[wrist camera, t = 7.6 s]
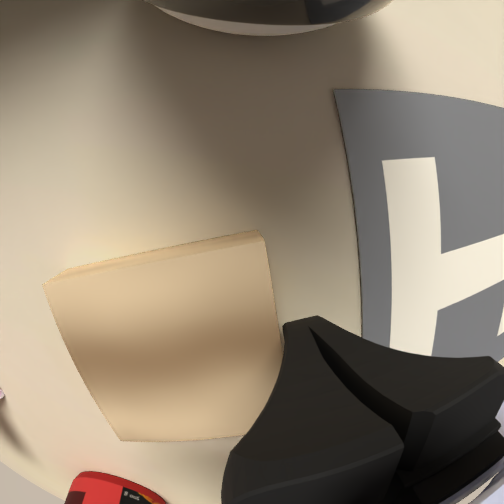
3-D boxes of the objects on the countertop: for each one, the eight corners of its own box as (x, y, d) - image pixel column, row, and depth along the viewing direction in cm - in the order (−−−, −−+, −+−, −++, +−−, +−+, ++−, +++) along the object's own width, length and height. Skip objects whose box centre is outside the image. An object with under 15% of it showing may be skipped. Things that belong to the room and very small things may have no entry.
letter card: (516, 346, 14) (517, 346, 14) (356, 433, 14) (357, 434, 14) (527, 115, 10) (528, 115, 10) (333, 90, 9) (334, 89, 9)
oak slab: (283, 390, 13) (293, 425, 10) (132, 407, 12) (120, 440, 10) (256, 228, 11) (264, 240, 8) (72, 265, 10) (42, 284, 8)
